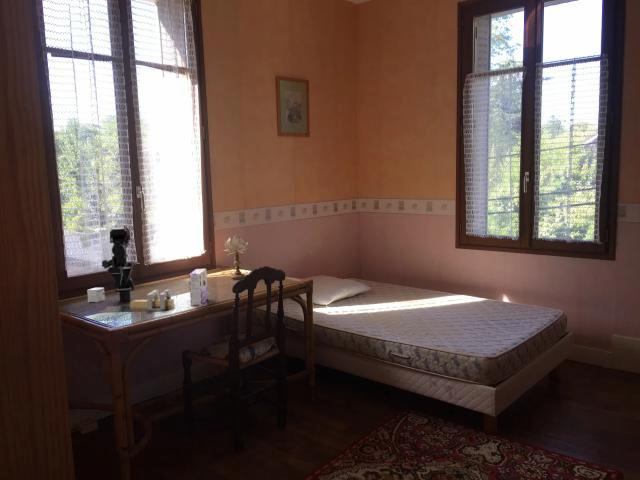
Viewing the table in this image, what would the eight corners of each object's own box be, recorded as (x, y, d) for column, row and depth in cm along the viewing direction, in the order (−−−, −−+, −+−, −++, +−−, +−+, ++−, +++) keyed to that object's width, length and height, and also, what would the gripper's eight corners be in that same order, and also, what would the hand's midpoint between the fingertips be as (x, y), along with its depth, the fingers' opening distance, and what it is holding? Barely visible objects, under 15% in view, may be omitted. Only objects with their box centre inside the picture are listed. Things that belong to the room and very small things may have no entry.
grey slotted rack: (108, 308, 268) (106, 290, 267) (175, 306, 267) (174, 289, 266) (97, 314, 256) (96, 296, 255) (168, 313, 255) (167, 294, 254)
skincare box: (97, 304, 278) (96, 290, 277) (87, 303, 280) (86, 289, 279) (105, 301, 284) (104, 287, 283) (96, 300, 286) (95, 287, 285)
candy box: (197, 299, 281) (195, 268, 279) (208, 299, 281) (206, 268, 279) (190, 306, 268) (188, 273, 266) (202, 305, 268) (200, 273, 265)
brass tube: (133, 307, 263) (133, 299, 263) (174, 306, 263) (173, 298, 262) (130, 309, 259) (130, 301, 259) (171, 308, 259) (171, 300, 258)
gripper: (111, 251, 274) (113, 281, 275) (95, 256, 255) (98, 288, 257) (133, 250, 273) (135, 280, 275) (118, 256, 255) (121, 288, 257)
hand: (122, 284), depth 266 cm, fingers open, 9 cm apart
